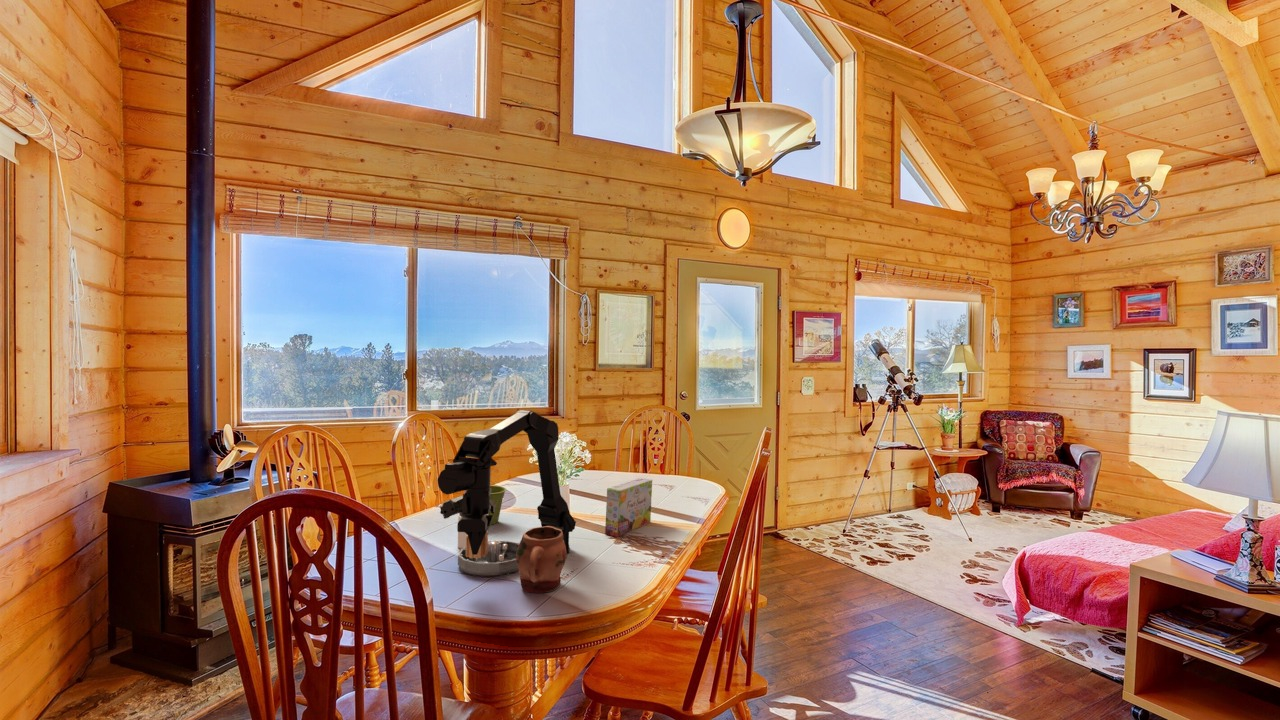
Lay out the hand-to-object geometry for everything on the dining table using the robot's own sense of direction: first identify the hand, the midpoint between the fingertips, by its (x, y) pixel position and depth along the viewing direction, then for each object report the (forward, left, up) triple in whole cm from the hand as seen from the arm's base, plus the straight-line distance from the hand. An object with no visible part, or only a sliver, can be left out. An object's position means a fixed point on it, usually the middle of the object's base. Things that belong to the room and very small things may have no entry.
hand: (476, 550), depth 143 cm
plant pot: (+5, -57, -10) cm, 58 cm away
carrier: (-2, -17, -10) cm, 20 cm away
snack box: (-42, -49, -10) cm, 65 cm away
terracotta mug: (-16, 0, -10) cm, 18 cm away
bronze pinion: (0, 0, -1) cm, 1 cm away
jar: (+6, -33, -10) cm, 35 cm away
